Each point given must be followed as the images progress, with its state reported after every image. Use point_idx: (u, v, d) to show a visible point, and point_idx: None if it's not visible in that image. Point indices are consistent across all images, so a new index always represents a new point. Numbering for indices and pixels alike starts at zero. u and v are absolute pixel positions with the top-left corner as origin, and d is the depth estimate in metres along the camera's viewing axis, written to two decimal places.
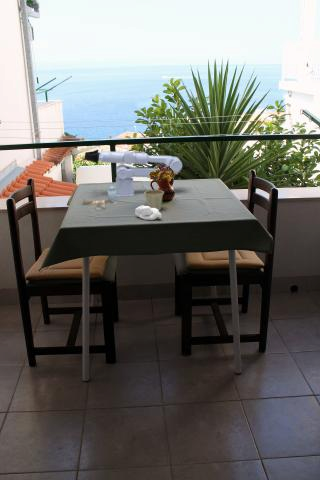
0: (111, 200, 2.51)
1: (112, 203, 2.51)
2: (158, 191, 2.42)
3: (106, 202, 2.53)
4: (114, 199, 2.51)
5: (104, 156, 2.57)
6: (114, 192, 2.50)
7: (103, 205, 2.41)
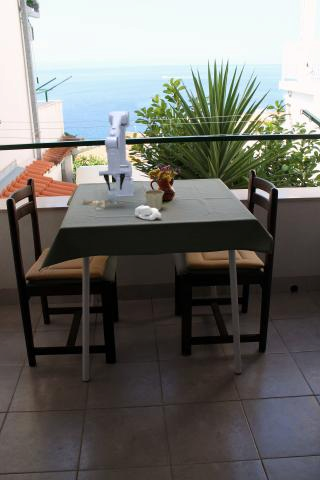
0: (111, 200, 2.51)
1: (112, 203, 2.51)
2: (158, 191, 2.42)
3: (106, 202, 2.53)
4: (114, 199, 2.51)
5: (119, 169, 2.37)
6: (114, 192, 2.50)
7: (103, 205, 2.41)
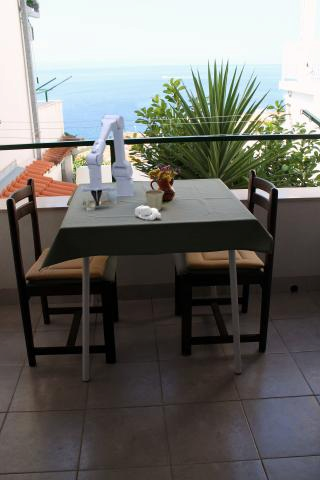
0: (111, 200, 2.51)
1: (112, 203, 2.51)
2: (158, 191, 2.42)
3: (106, 202, 2.53)
4: (114, 199, 2.51)
5: (101, 185, 2.38)
6: (114, 192, 2.50)
7: (93, 205, 2.40)
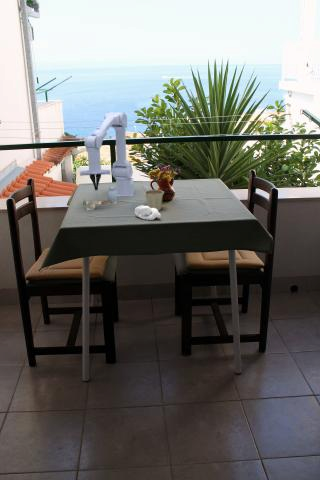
0: (111, 200, 2.51)
1: (112, 203, 2.51)
2: (158, 191, 2.42)
3: (106, 202, 2.53)
4: (114, 199, 2.51)
5: (100, 168, 2.36)
6: (114, 192, 2.50)
7: (93, 205, 2.40)
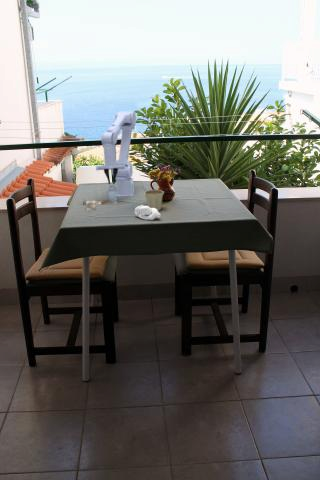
0: (111, 200, 2.51)
1: (112, 203, 2.51)
2: (158, 191, 2.42)
3: (106, 202, 2.53)
4: (114, 199, 2.51)
5: (116, 163, 2.46)
6: (114, 192, 2.50)
7: (93, 205, 2.40)
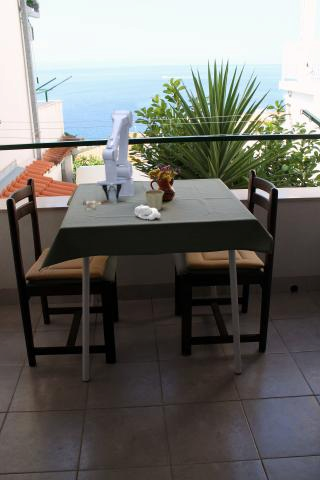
0: (111, 200, 2.51)
1: (112, 203, 2.51)
2: (158, 191, 2.42)
3: (106, 202, 2.53)
4: (114, 199, 2.51)
5: (116, 179, 2.49)
6: (114, 192, 2.50)
7: (93, 205, 2.40)
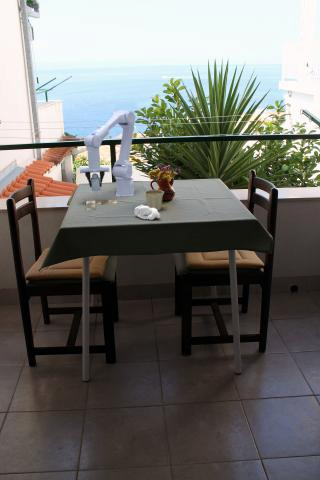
0: (94, 188, 2.48)
1: (112, 203, 2.51)
2: (158, 191, 2.42)
3: (106, 202, 2.53)
4: (97, 187, 2.48)
5: None
6: (97, 180, 2.47)
7: (93, 205, 2.40)
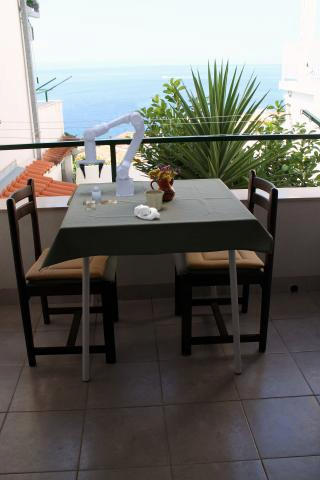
0: (95, 201, 2.50)
1: (112, 203, 2.51)
2: (158, 191, 2.42)
3: (106, 202, 2.53)
4: (98, 200, 2.50)
5: None
6: (98, 193, 2.49)
7: (93, 205, 2.40)
